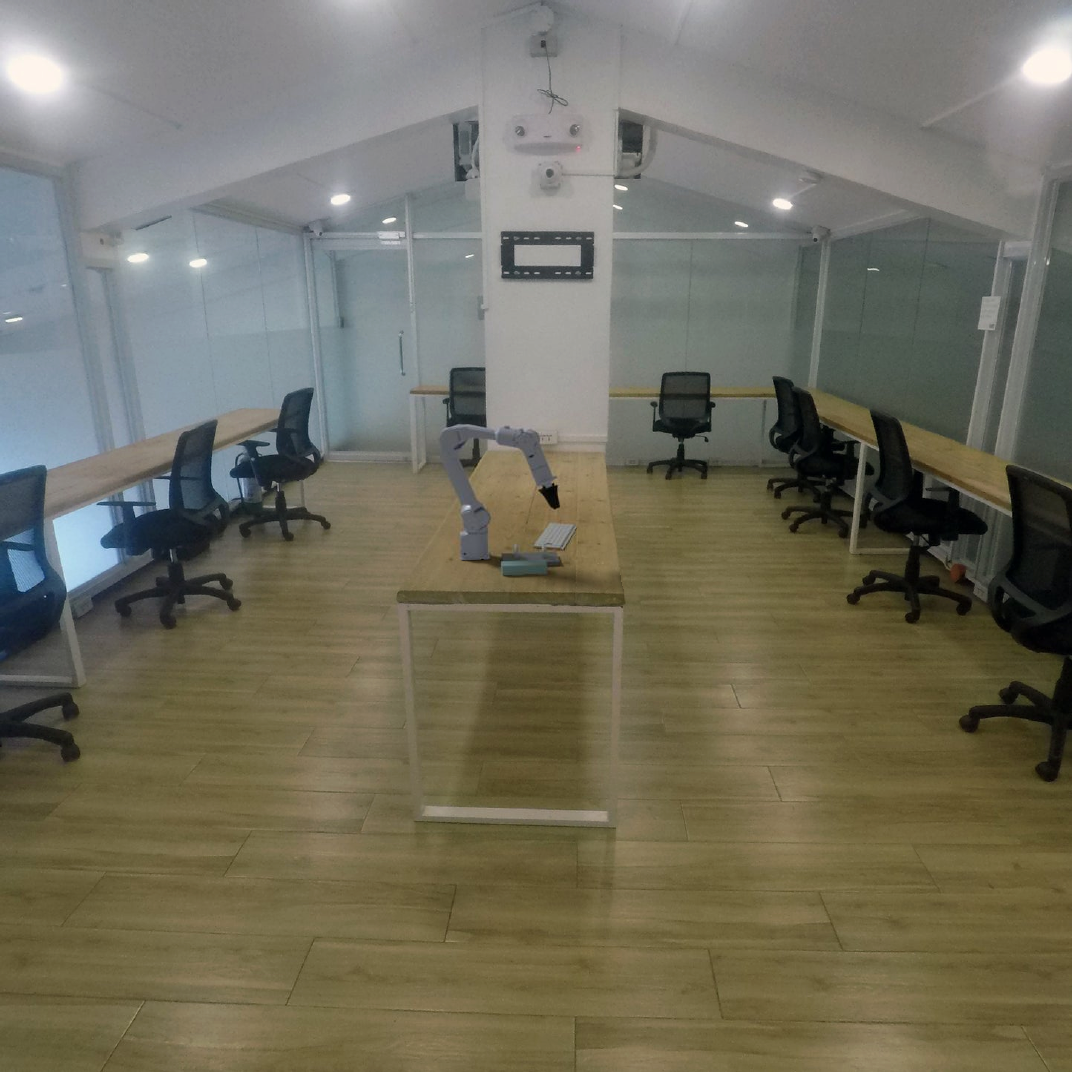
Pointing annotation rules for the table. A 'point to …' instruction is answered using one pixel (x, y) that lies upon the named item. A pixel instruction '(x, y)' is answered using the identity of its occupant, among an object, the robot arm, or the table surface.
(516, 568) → the teal rectangular block
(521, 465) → the table surface
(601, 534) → the table surface
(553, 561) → the peg stand
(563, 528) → the white ridged flat slab
